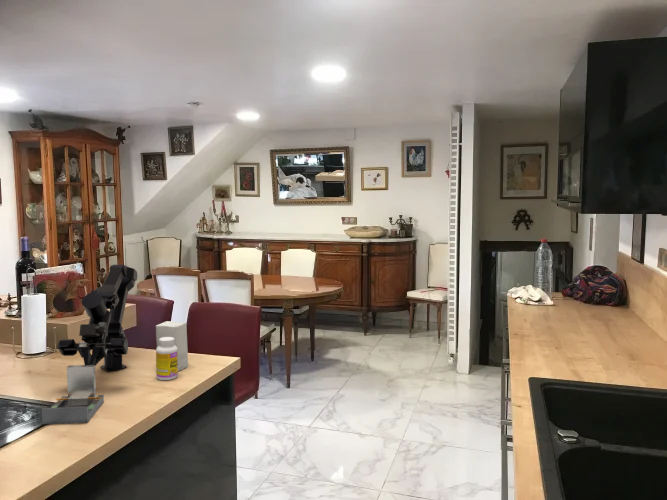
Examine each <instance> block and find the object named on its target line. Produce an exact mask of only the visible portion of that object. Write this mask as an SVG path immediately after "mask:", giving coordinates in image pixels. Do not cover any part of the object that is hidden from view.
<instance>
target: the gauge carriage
mask: <svg viewBox="0 0 667 500" xmlns="http://www.w3.org/2000/svg"><path fill="white" fill-rule="evenodd" d="M96 382H97V381H96V366H95V365H85V364H81V365H67V367H66V384H67V385H66V386H67V389H66V390H67V396H68V398H61V397H59V398H58V397H57V398H55V399H56V402H57V401H58V400H68V406H81V405H88V404H89V403H90V402H91V401H94V400H95V399H101V397H97V390H96V386H97V385H96V384H97V383H96Z"/></svg>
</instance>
